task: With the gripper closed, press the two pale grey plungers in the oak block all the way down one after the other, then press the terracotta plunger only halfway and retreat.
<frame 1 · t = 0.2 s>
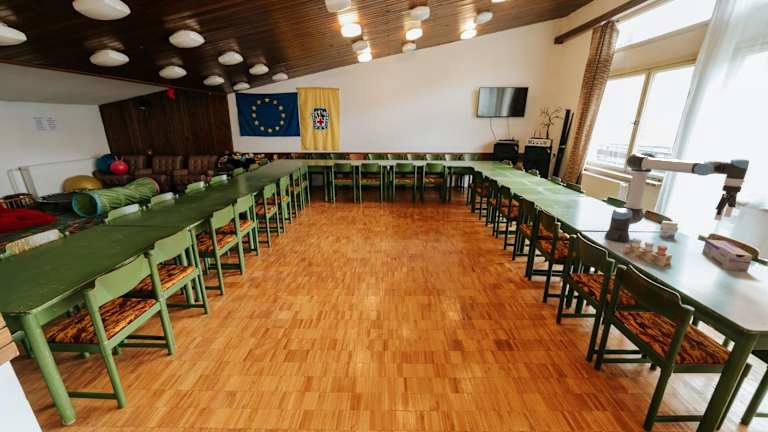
hand: (722, 218, 196), 28 cm above the table, fingers open, 13 cm apart
surgical sutures box: (722, 262, 199), on the table
grey plunger near: (635, 244, 210), point 7 cm above the table, slide at 0.0 cm
ink box: (666, 236, 245), on the table
terracotta plunger: (661, 252, 198), point 7 cm above the table, slide at 0.0 cm
press block: (645, 258, 206), on the table
grey plunger middle: (648, 248, 204), point 7 cm above the table, slide at 0.0 cm
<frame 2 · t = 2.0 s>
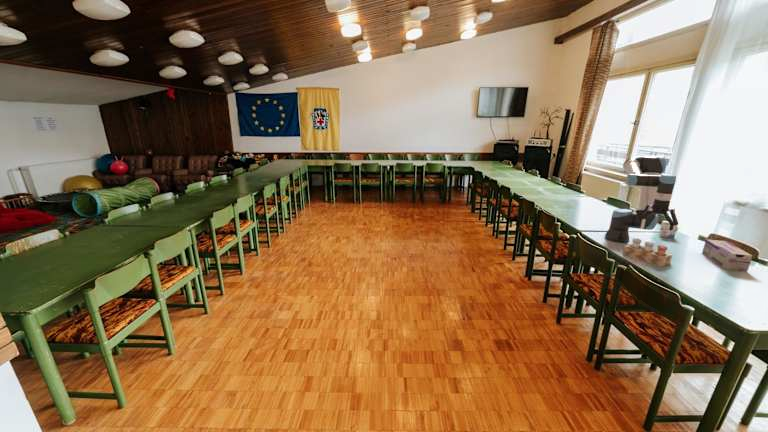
hand: (654, 231, 200), 19 cm above the table, fingers open, 13 cm apart
nothing on the table moved.
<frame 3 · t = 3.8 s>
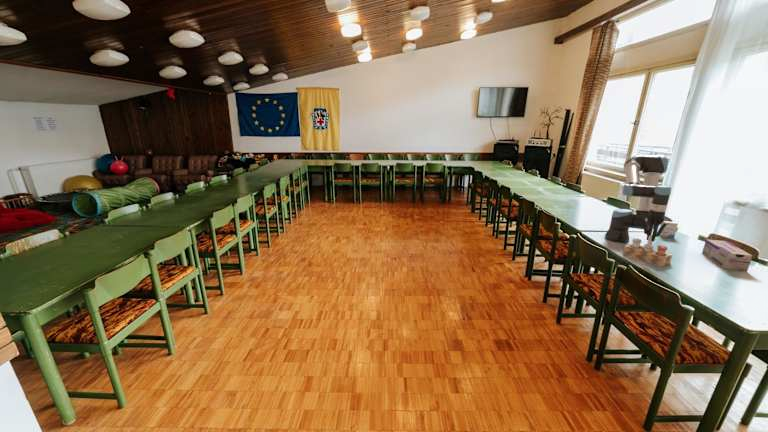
hand: (649, 245, 203), 10 cm above the table, fingers closed
grey plunger middle: (647, 250, 204), point 5 cm above the table, slide at 1.8 cm, touching gripper
everything else where it was.
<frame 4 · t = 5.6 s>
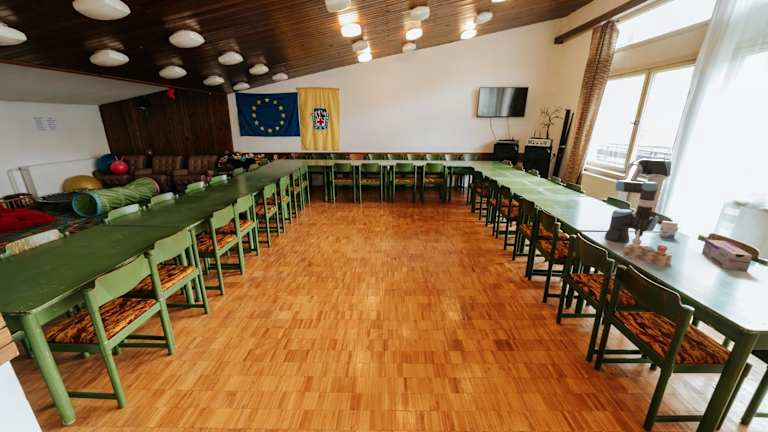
hand: (637, 239, 209), 11 cm above the table, fingers closed
grey plunger near: (635, 245, 210), point 7 cm above the table, slide at 0.4 cm, touching gripper
grey plunger middle: (647, 252, 205), point 4 cm above the table, slide at 3.0 cm
everything else where it was.
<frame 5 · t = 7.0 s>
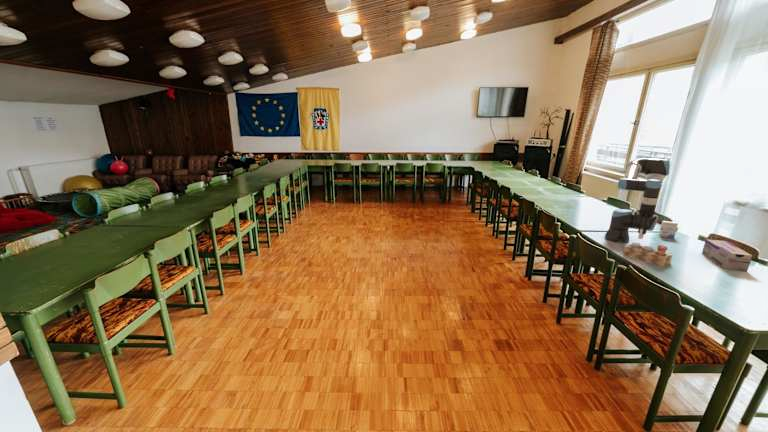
hand: (640, 238, 206), 13 cm above the table, fingers closed
grey plunger near: (634, 249, 211), point 4 cm above the table, slide at 3.0 cm
everything else where it was.
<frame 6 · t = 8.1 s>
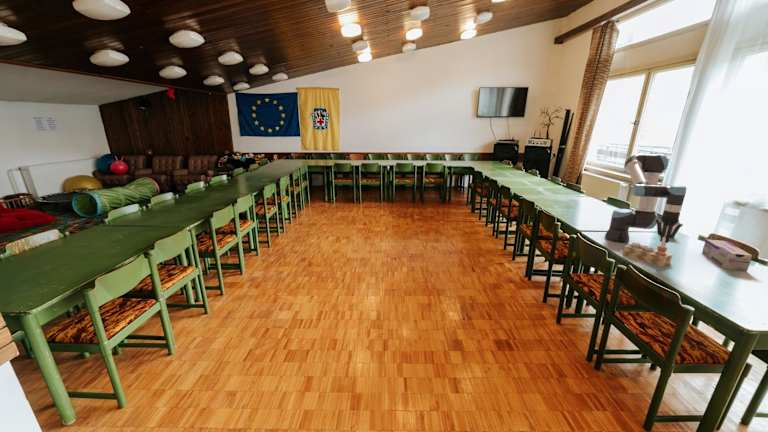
hand: (662, 246, 197), 11 cm above the table, fingers closed
terracotta plunger: (661, 252, 198), point 7 cm above the table, slide at 0.4 cm, touching gripper
everything else where it was.
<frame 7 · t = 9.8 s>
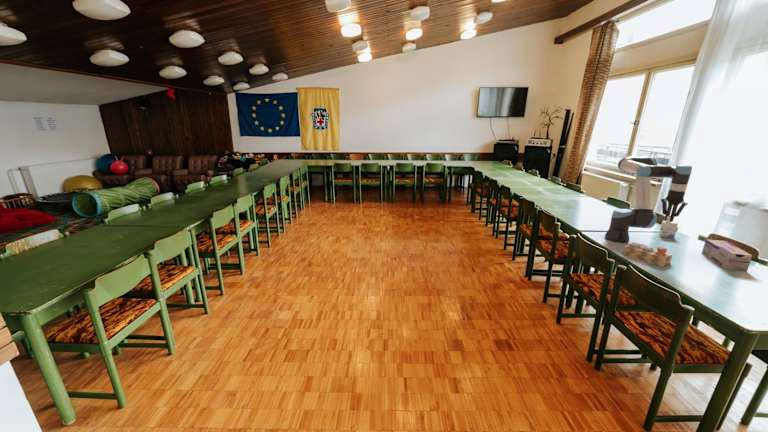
hand: (667, 225, 202), 22 cm above the table, fingers closed
terracotta plunger: (660, 254, 198), point 6 cm above the table, slide at 1.3 cm
everything else where it was.
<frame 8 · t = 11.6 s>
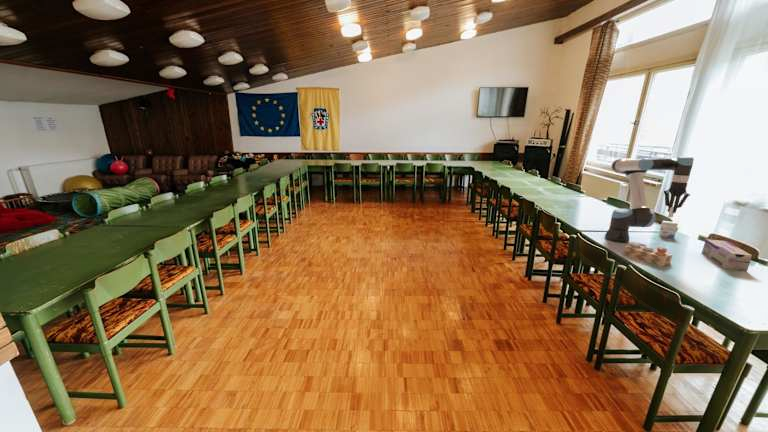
hand: (670, 217, 205), 26 cm above the table, fingers closed
nothing on the table moved.
at the end: grey plunger middle slide at 3.0 cm; grey plunger near slide at 3.0 cm; terracotta plunger slide at 1.3 cm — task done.
